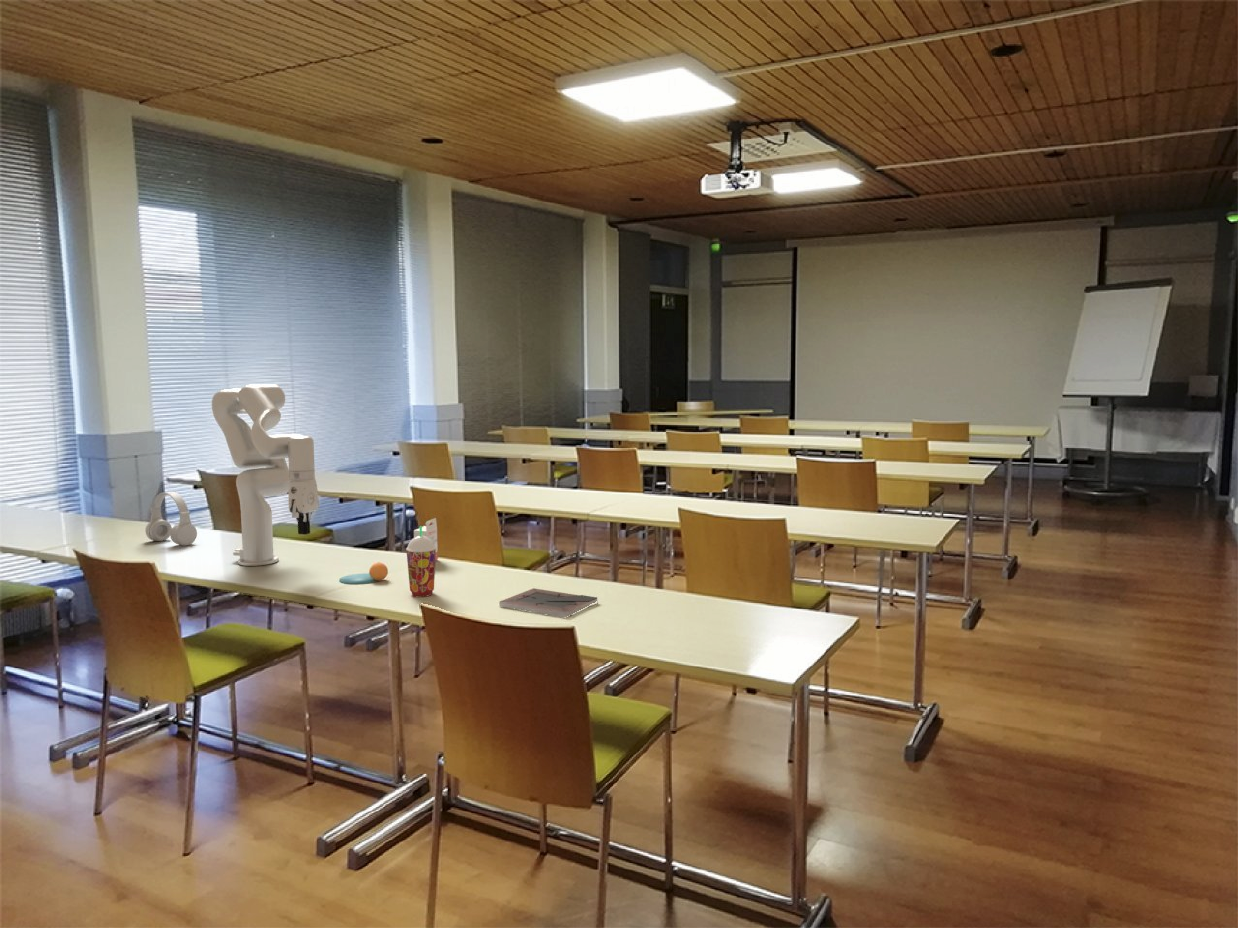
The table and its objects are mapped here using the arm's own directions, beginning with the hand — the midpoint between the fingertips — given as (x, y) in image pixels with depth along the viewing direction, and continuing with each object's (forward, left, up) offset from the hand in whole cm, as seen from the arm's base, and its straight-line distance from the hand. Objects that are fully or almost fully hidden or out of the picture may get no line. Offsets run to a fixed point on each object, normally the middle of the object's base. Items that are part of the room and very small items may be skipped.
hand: (304, 533), depth 265 cm
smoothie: (+45, -13, -14) cm, 49 cm away
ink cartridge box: (+29, +26, -14) cm, 41 cm away
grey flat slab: (+84, -16, -14) cm, 87 cm away
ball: (+25, 0, -11) cm, 27 cm away
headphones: (-77, +36, -14) cm, 86 cm away
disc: (+19, 0, -13) cm, 23 cm away
